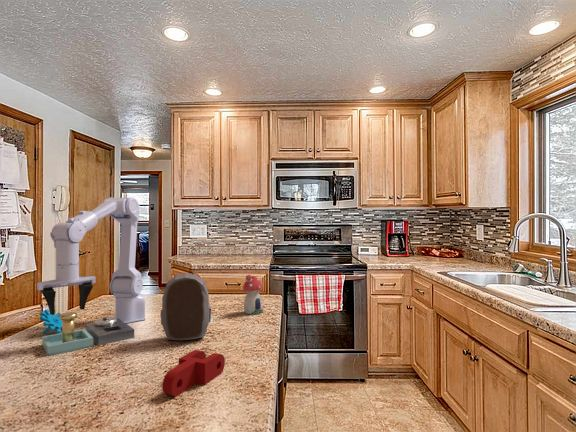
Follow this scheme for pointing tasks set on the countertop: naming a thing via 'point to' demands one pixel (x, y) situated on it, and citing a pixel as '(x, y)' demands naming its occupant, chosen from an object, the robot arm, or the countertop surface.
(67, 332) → the pin
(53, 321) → the gear
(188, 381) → the mechanical linkage
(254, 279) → the decorative ornament
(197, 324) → the small grey backpack
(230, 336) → the countertop surface
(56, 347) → the pin tray
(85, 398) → the countertop surface
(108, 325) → the grey flat block
